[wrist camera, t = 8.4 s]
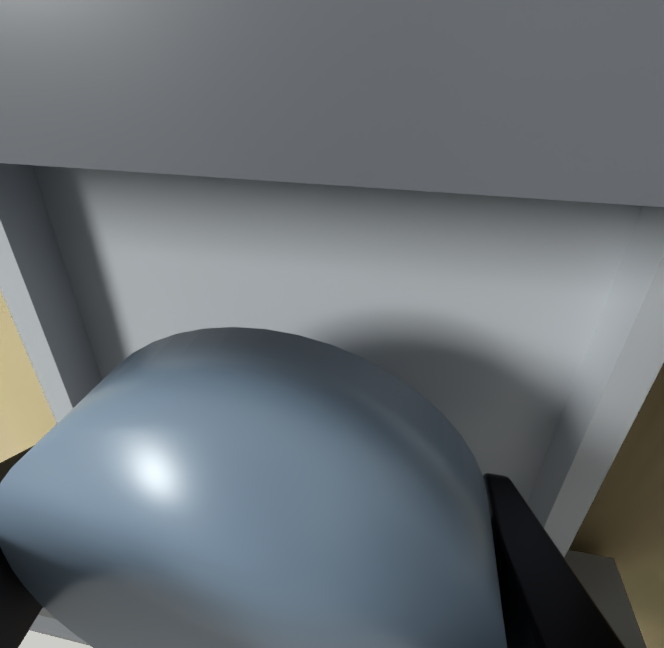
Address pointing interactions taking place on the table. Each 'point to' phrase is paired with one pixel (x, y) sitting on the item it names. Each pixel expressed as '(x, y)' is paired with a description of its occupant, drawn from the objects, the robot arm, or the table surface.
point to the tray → (364, 308)
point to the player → (345, 93)
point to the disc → (255, 505)
